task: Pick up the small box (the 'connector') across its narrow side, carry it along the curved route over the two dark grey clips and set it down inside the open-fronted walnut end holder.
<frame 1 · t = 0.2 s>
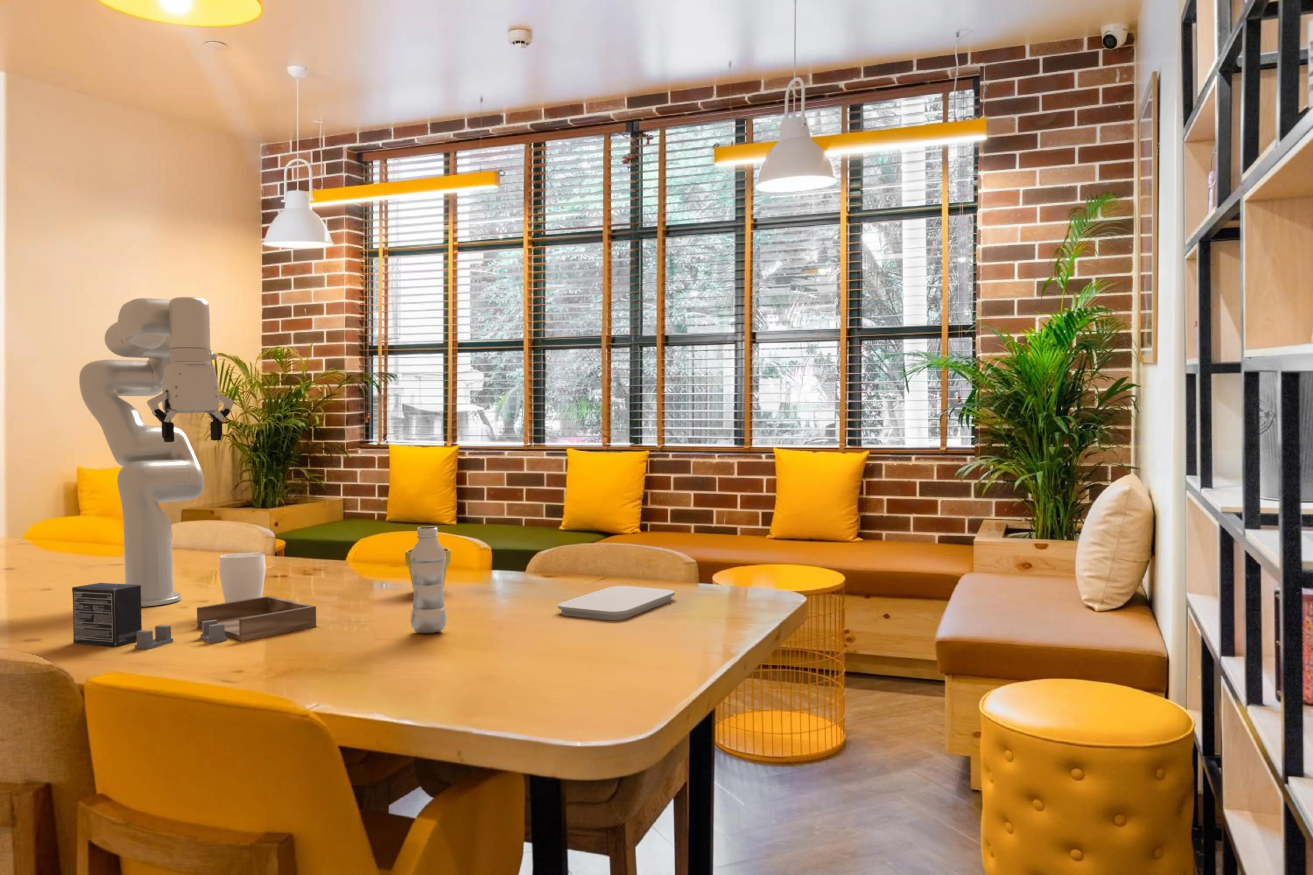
hand: (192, 441, 202), 36 cm above the table, tool pointing down, fingers open, 9 cm apart
plant pot: (428, 592, 229), on the table
clip 1: (154, 644, 179), on the table
plastic bottle: (429, 633, 186), on the table
cup: (243, 612, 208), on the table
small box: (108, 642, 182), on the table
holder: (256, 627, 193), on the table
clip 2: (213, 638, 183), on the table
tablet: (618, 609, 209), on the table
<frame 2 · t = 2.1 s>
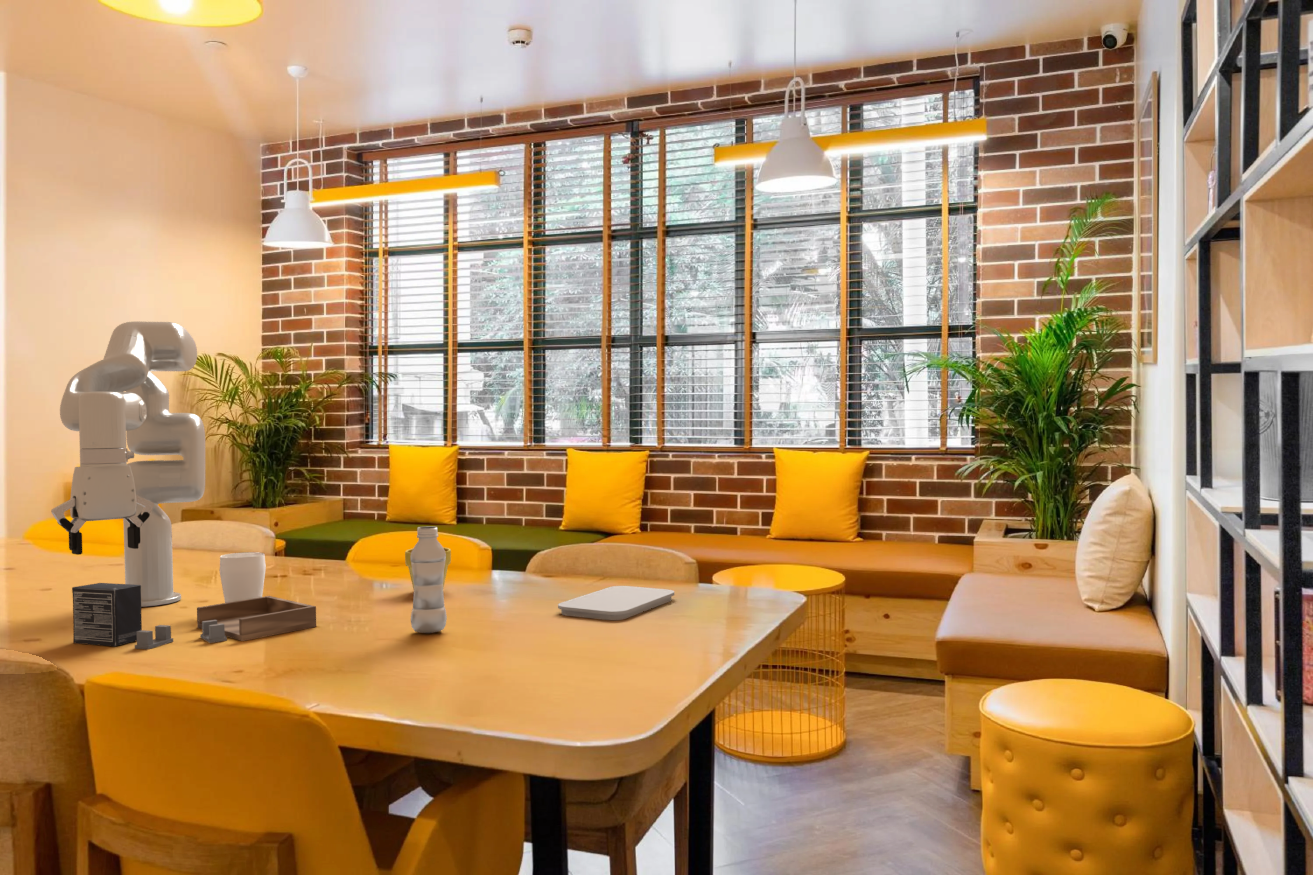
hand: (105, 550, 181), 17 cm above the table, tool pointing down, fingers open, 9 cm apart
nothing on the table moved.
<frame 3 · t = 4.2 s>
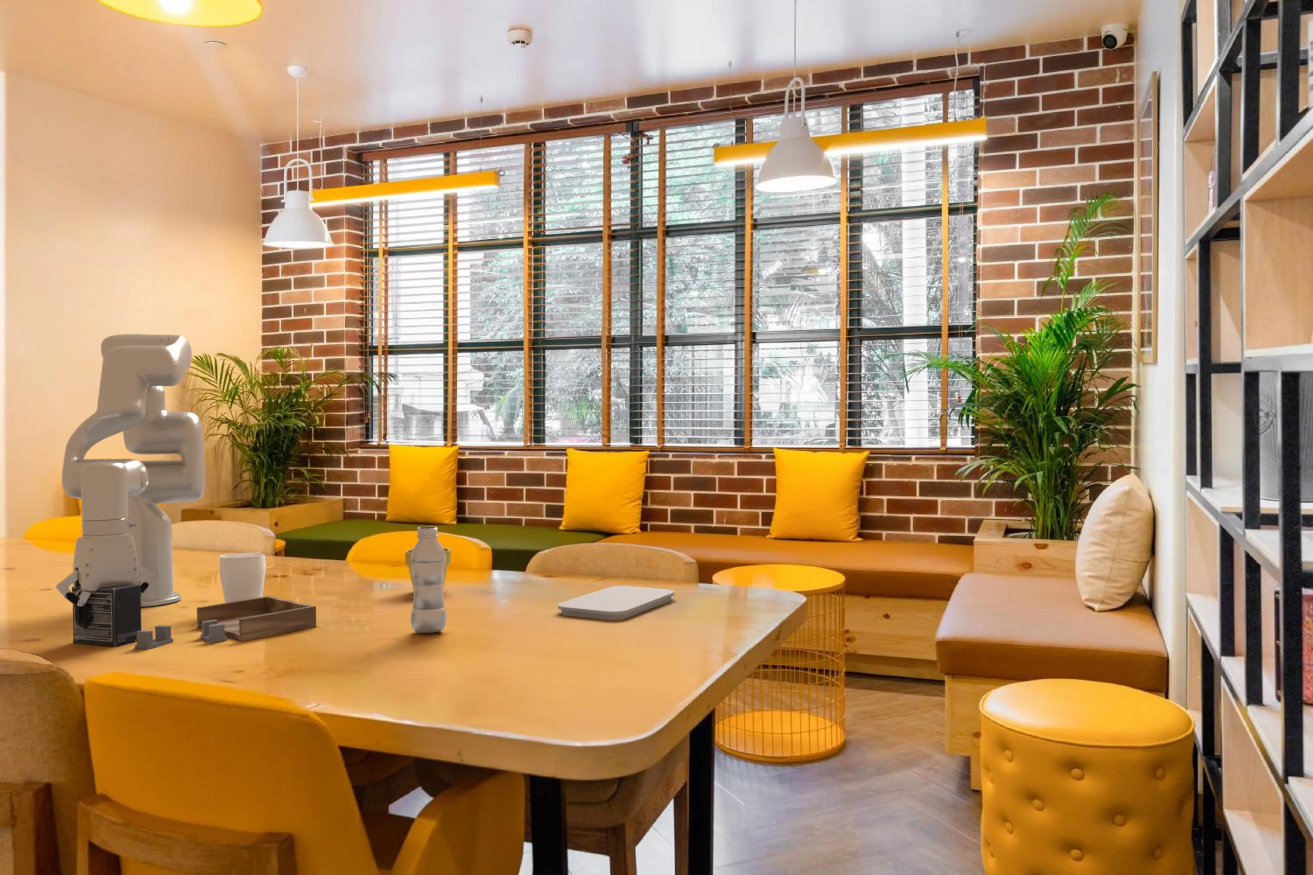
hand: (108, 622, 182), 4 cm above the table, tool pointing down, fingers closed on small box, 8 cm apart
small box: (108, 642, 182), on the table, touching gripper
everything else where it was.
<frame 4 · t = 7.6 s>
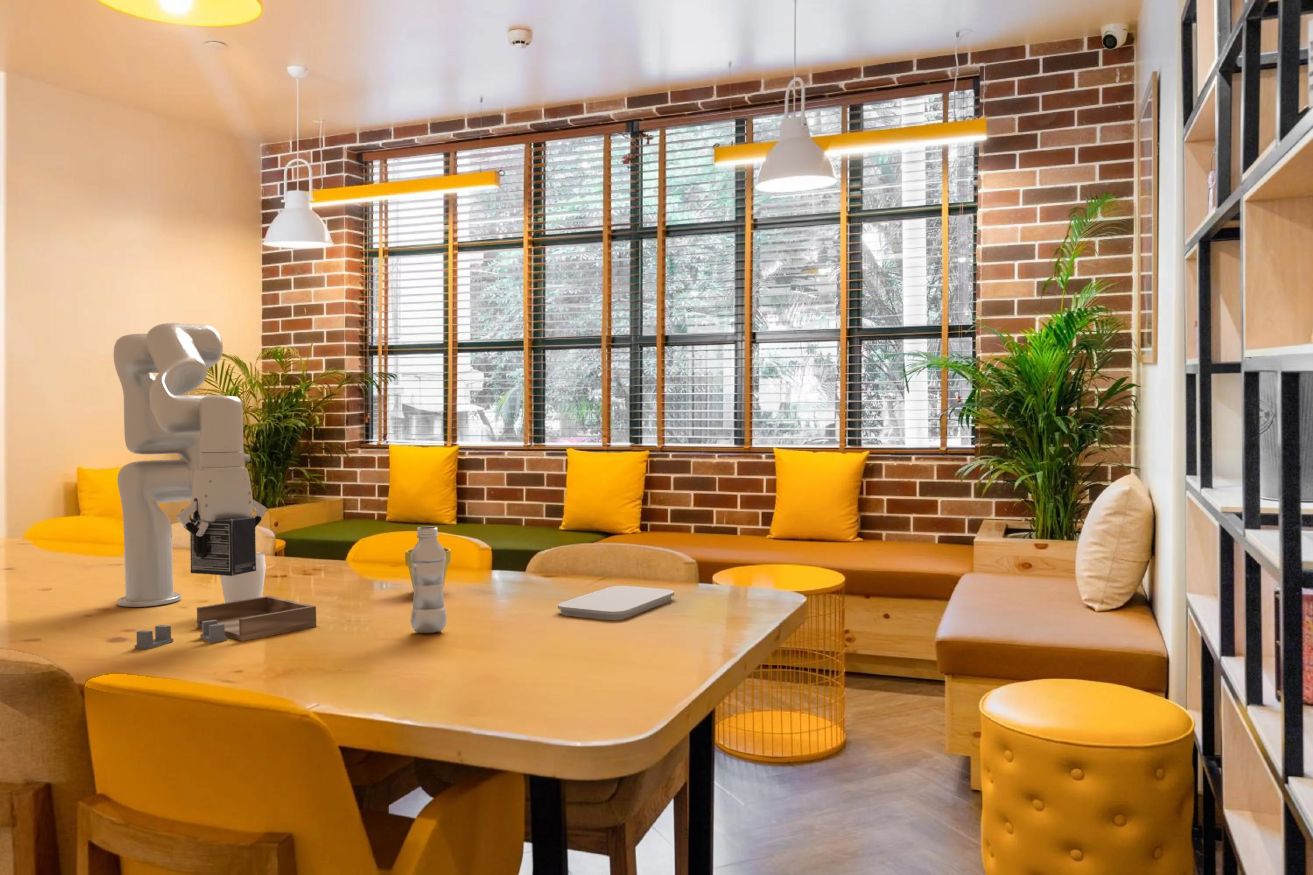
hand: (224, 553, 186), 16 cm above the table, tool pointing down, fingers closed on small box, 7 cm apart
small box: (224, 573, 186), point 12 cm above the table, touching gripper
everything else where it was.
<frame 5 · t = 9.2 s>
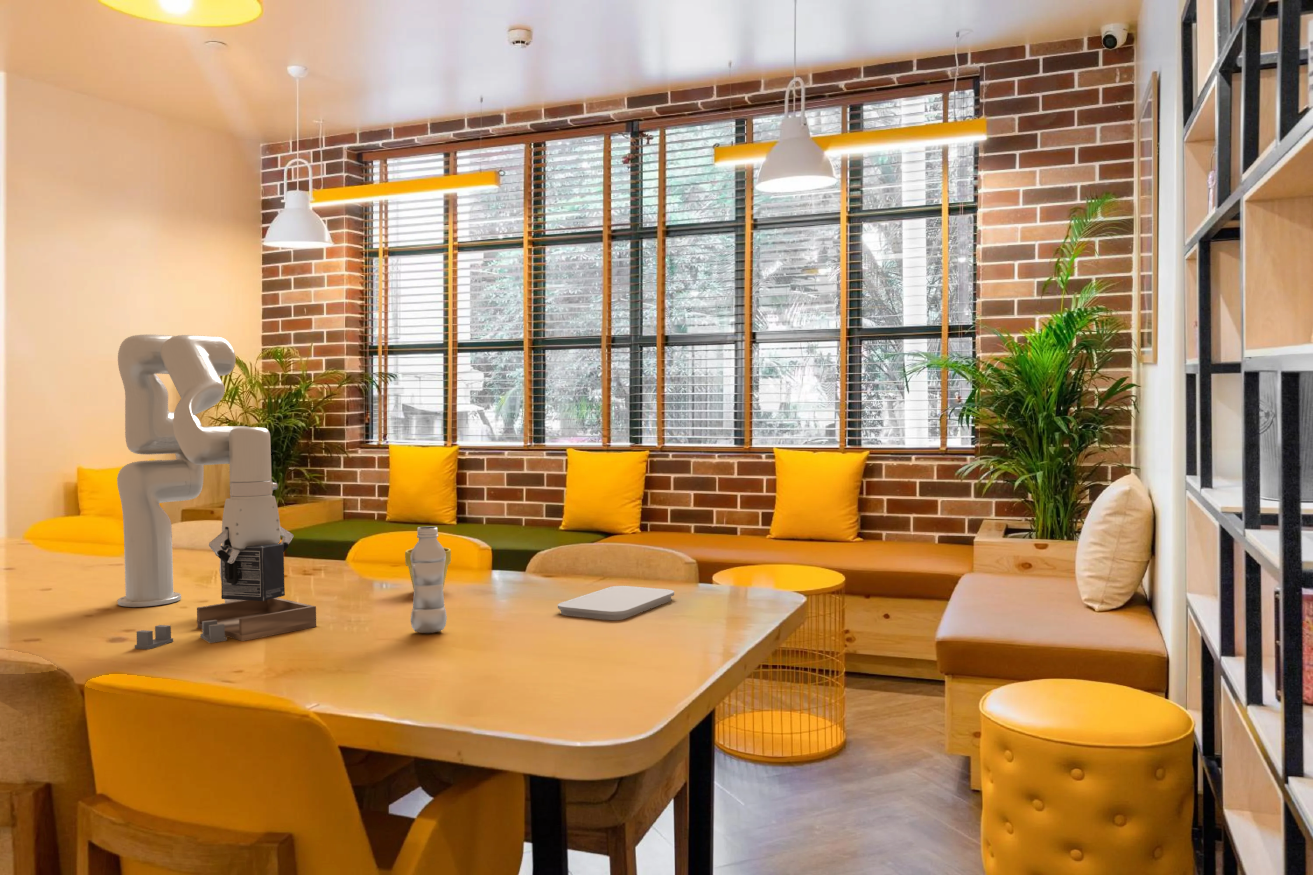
hand: (253, 579, 192), 9 cm above the table, tool pointing down, fingers closed on small box, 7 cm apart
small box: (253, 598, 192), point 6 cm above the table, touching gripper
everything else where it was.
when the fingers open (6 cm above the table, at t = 10.8 s): small box drops 2 cm, resting on holder.
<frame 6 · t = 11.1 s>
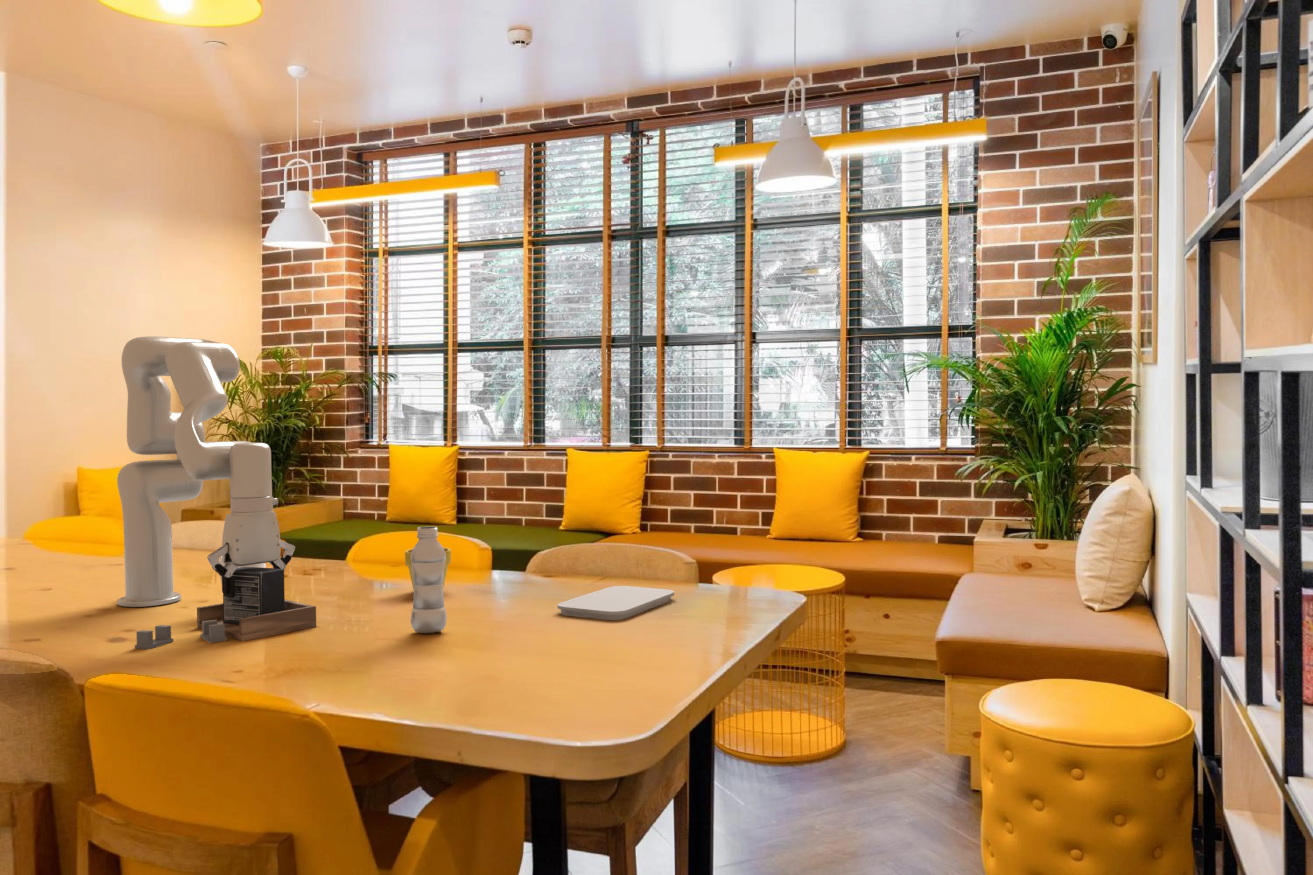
hand: (253, 593, 192), 7 cm above the table, tool pointing down, fingers open, 9 cm apart
small box: (254, 623, 193), point 1 cm above the table, touching holder
everything else where it was.
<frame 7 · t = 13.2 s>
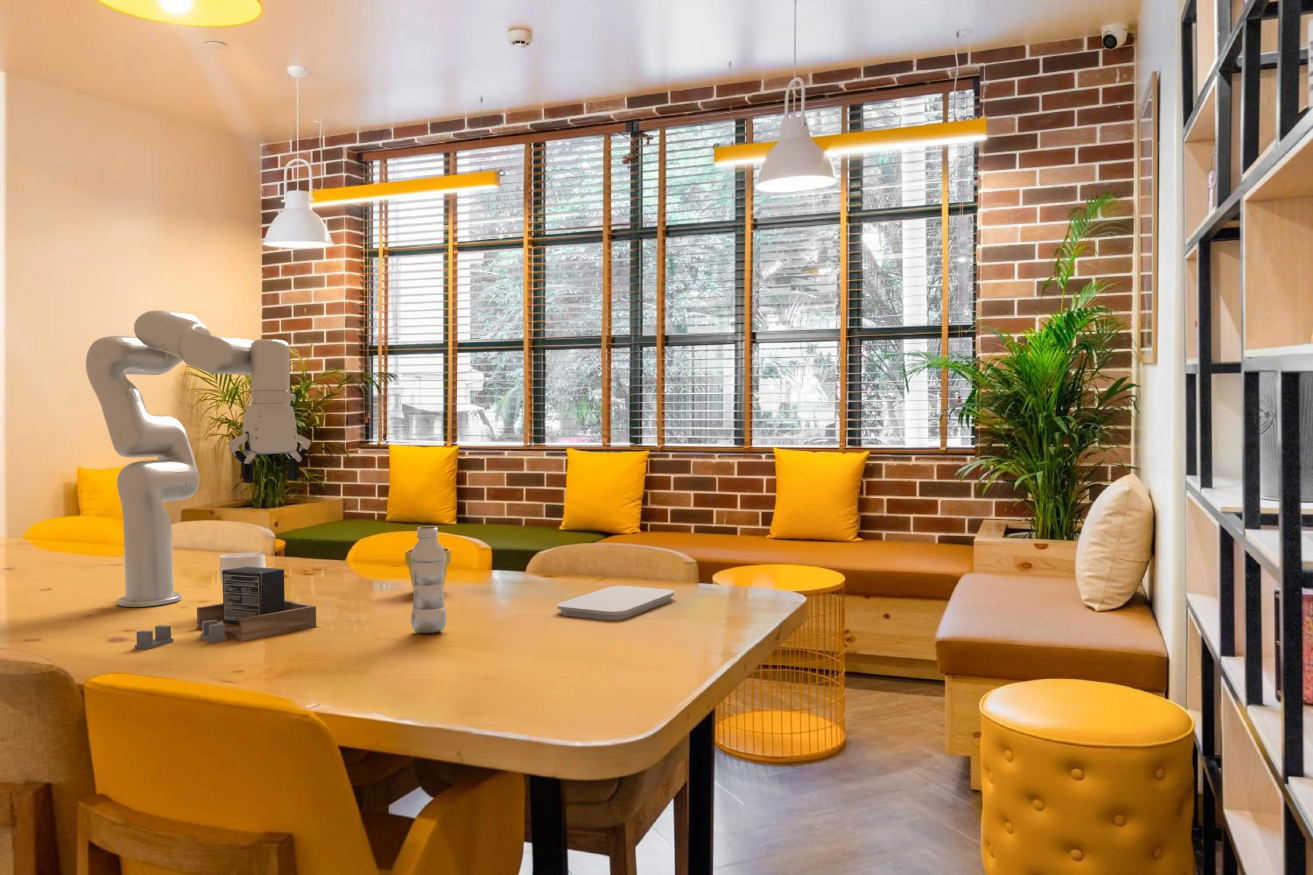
hand: (270, 481, 204), 28 cm above the table, tool pointing down, fingers open, 9 cm apart
nothing on the table moved.
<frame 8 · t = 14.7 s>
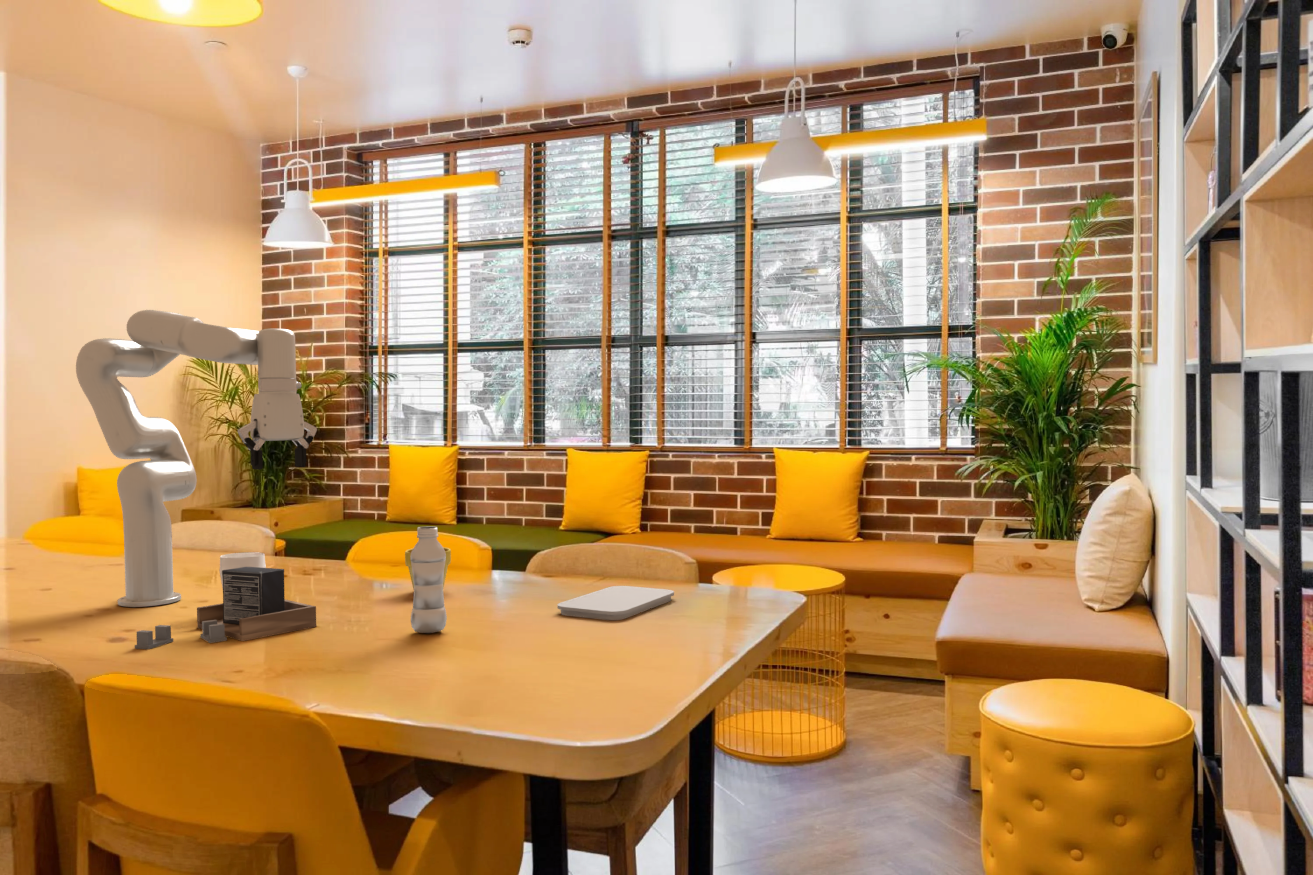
hand: (279, 467, 209), 30 cm above the table, tool pointing down, fingers open, 9 cm apart
nothing on the table moved.
at the end: small box inside the target area on the holder (0.4 cm from its centre), point 0.8 cm above the holder's base; small box tilted 0°; the gripper is holding nothing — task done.
